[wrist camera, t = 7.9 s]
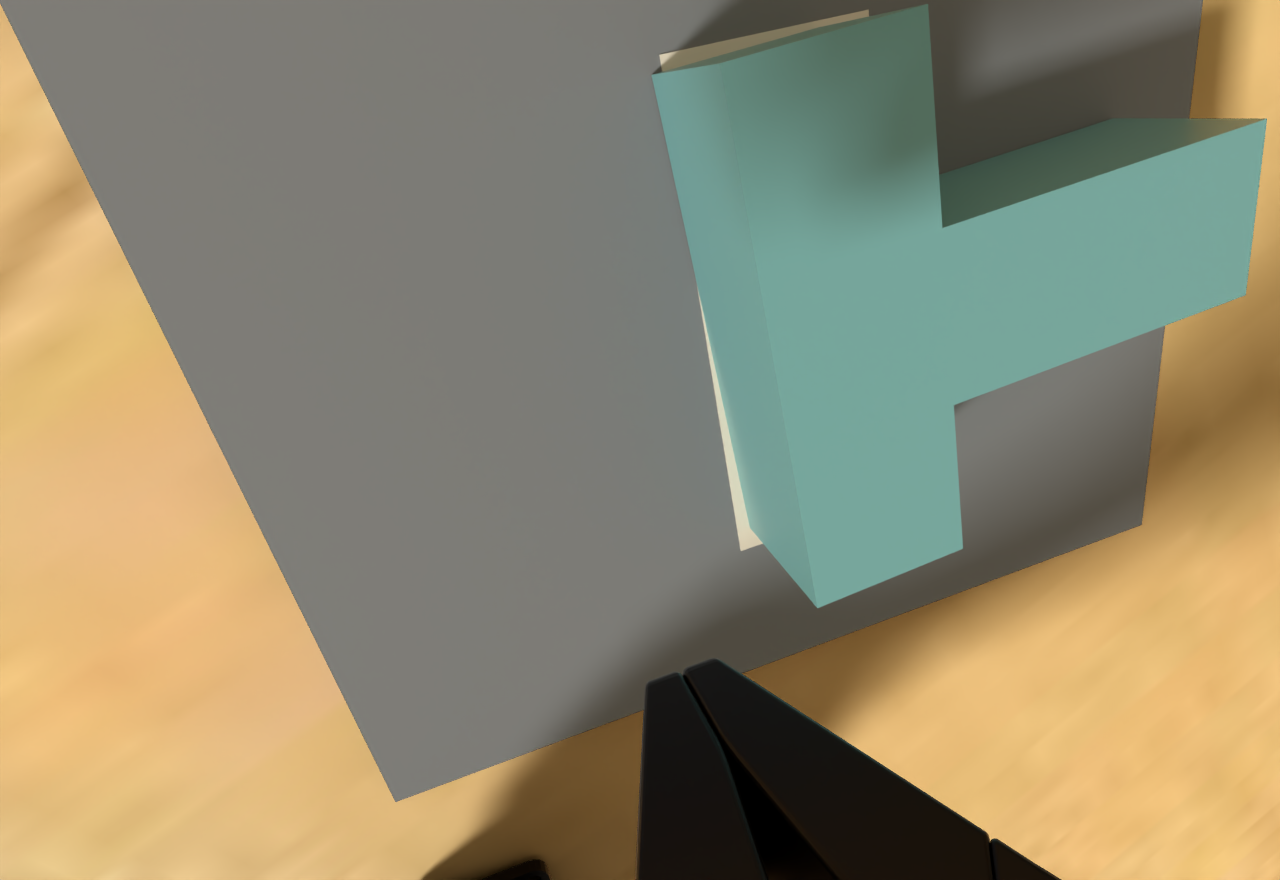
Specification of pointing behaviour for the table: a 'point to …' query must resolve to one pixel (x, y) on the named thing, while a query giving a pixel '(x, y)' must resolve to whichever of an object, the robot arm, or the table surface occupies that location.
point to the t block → (916, 274)
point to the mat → (541, 328)
